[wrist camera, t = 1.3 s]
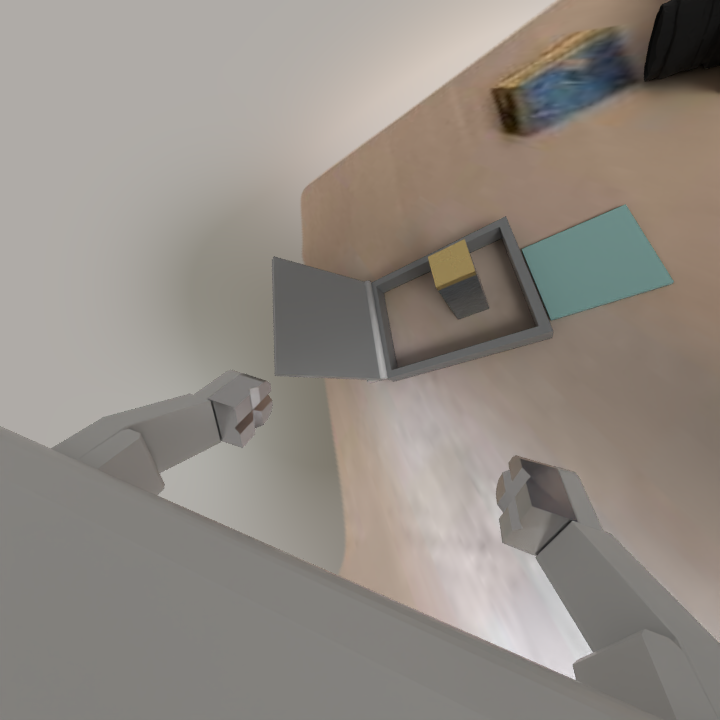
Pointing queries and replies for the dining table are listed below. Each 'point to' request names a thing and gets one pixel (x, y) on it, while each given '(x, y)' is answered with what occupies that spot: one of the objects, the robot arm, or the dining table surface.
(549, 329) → the case
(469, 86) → the dining table surface
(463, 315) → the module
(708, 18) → the film camera
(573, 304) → the pad
